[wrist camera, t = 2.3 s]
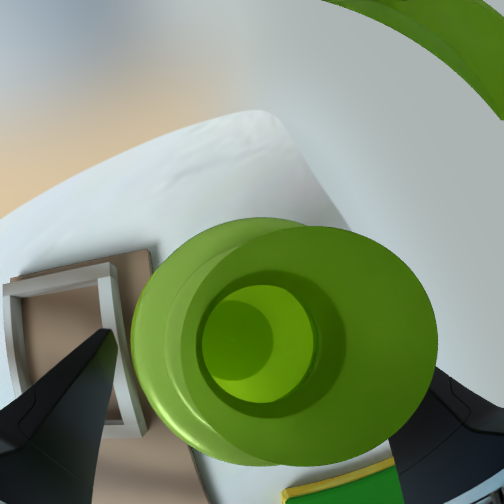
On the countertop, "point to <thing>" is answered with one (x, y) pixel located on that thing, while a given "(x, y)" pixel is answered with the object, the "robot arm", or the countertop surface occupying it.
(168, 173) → the countertop surface
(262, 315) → the soap dispenser
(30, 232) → the countertop surface
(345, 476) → the dish sponge
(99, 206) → the countertop surface
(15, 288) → the walnut holder board
